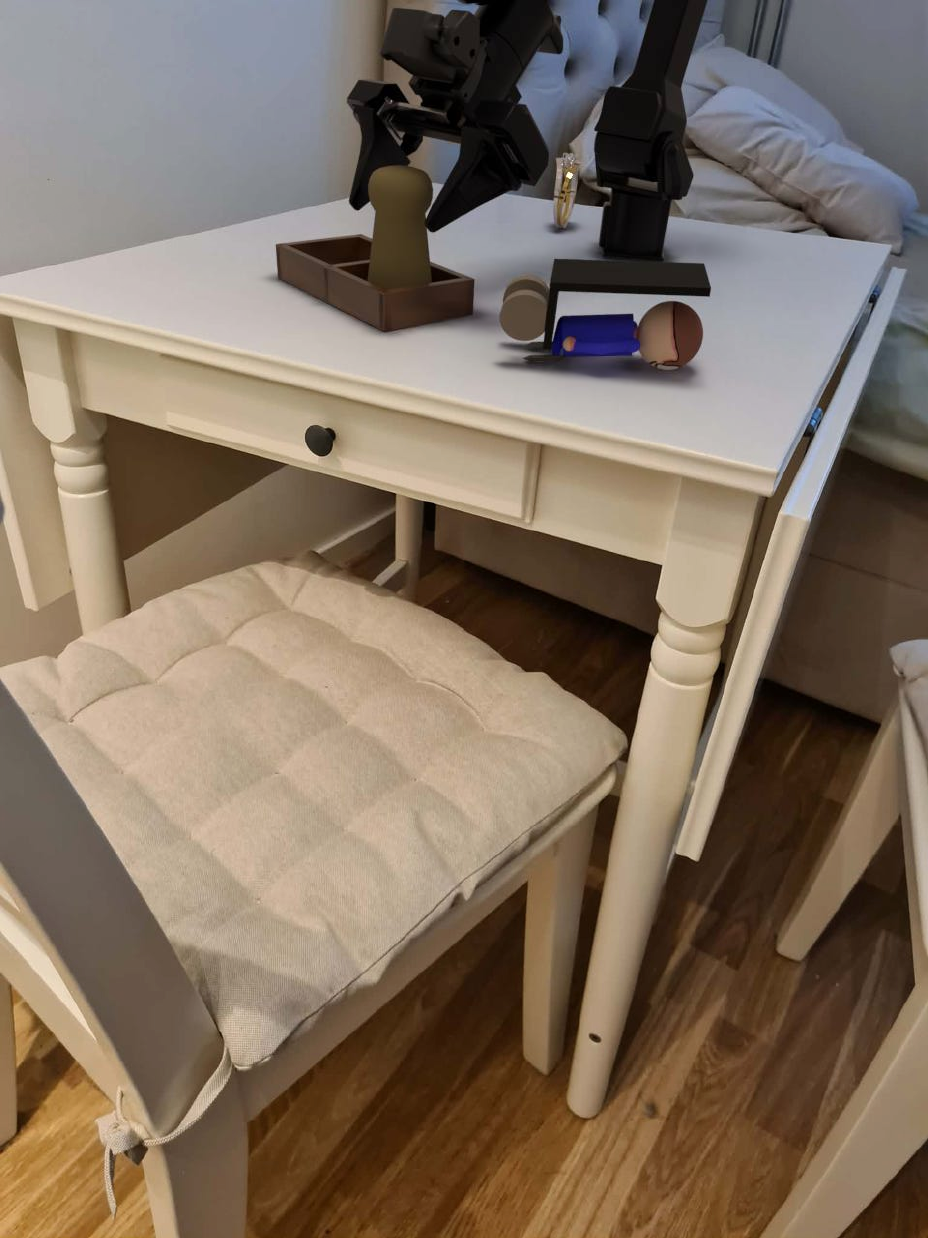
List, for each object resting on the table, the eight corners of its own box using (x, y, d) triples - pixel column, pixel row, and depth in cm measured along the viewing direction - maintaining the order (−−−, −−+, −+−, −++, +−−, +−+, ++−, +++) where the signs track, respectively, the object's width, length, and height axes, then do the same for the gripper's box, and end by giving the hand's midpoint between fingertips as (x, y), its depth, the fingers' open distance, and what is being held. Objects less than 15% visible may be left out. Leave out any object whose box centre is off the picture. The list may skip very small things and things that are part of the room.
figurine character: (500, 387, 66) (704, 382, 65) (495, 282, 62) (715, 274, 60) (506, 357, 72) (695, 352, 70) (502, 259, 68) (704, 251, 66)
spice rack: (361, 266, 87) (361, 233, 85) (473, 314, 76) (475, 278, 74) (277, 277, 82) (275, 243, 80) (383, 331, 71) (383, 293, 69)
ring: (565, 235, 102) (574, 158, 98) (539, 231, 103) (547, 154, 99) (582, 224, 108) (591, 150, 103) (557, 220, 109) (565, 147, 104)
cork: (444, 303, 78) (449, 165, 72) (419, 323, 73) (423, 176, 67) (380, 294, 79) (380, 157, 73) (353, 312, 75) (350, 168, 68)
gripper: (362, -41, 70) (256, 125, 70) (540, -33, 60) (417, 162, 60) (431, 73, 79) (338, 220, 79) (596, 98, 69) (489, 267, 69)
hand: (389, 217), depth 71 cm, fingers open, 9 cm apart
